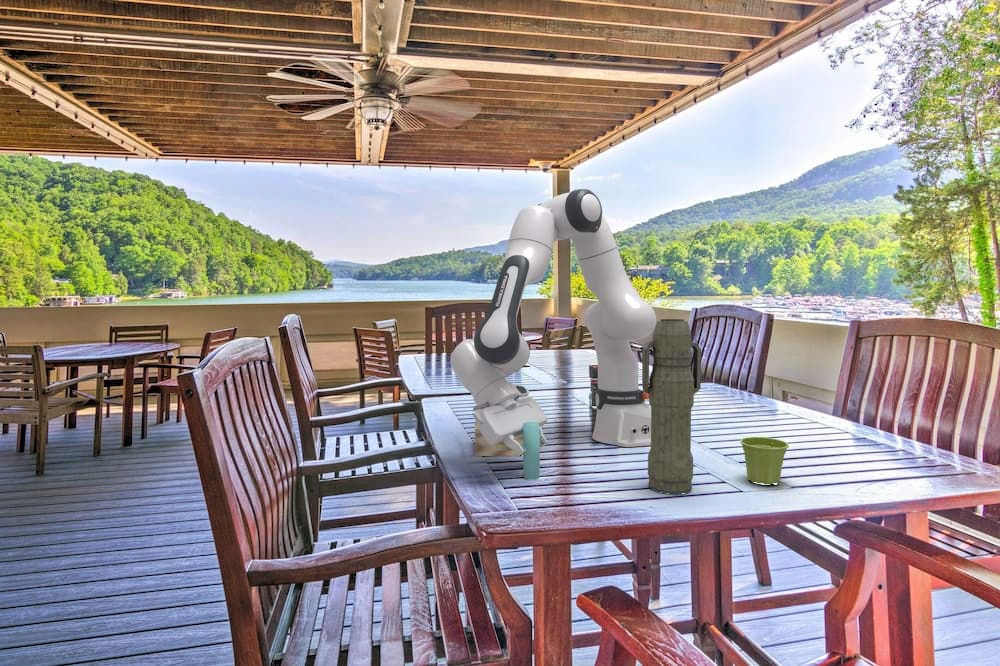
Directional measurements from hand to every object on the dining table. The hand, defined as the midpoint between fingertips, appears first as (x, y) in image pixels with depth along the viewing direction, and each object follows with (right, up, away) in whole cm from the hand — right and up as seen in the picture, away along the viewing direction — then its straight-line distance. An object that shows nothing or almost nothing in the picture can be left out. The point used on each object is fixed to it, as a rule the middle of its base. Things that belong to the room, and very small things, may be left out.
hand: (533, 449), depth 124 cm
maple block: (-7, -5, +24) cm, 26 cm away
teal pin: (0, -6, +1) cm, 6 cm away
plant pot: (+49, -7, -3) cm, 49 cm away
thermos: (+28, -7, -7) cm, 30 cm away
